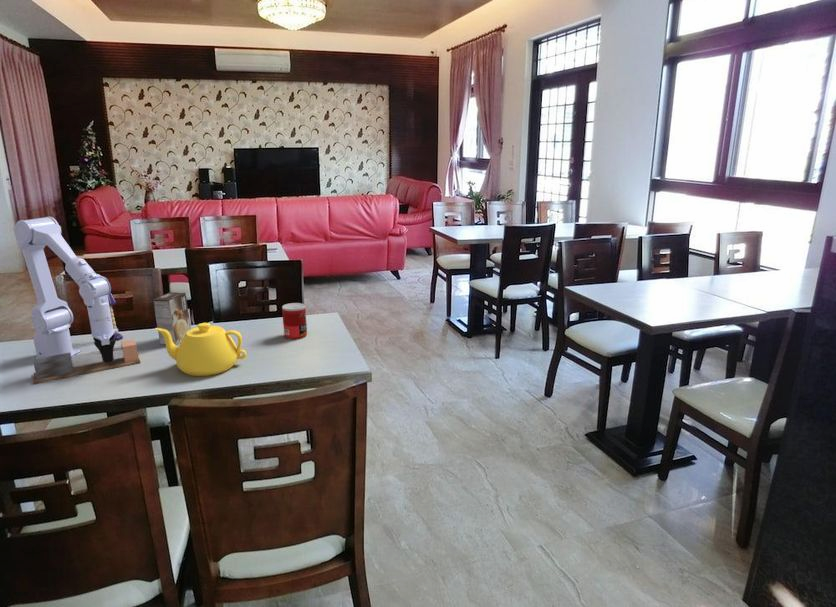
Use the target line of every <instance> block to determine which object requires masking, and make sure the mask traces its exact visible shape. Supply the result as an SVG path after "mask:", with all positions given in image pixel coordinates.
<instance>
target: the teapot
mask: <svg viewBox="0 0 836 607" xmlns="http://www.w3.org/2000/svg"><path fill="white" fill-rule="evenodd" d="M155 330H157V332H158V331H159V332H160V333H161V334H162V335H163V337H164V339H165V344H166V345H165V347H166V352H167V354H168V355H169V357H171V358H172V359H173V360H175V361H176V367H177V368H178V369H179V370H180V371H181V372H182V373H184V374H186V375H188V376H192V377H209V376H213V375H214V376H215V375H218V374H221V373H224V372H226V371H228V369H229V370H230V369H231V368H232V367H233V366H234V365H235V364H236V363H237V361H238V360H245V358H246V357H247V355H248V354H247V351H246V350H245V349H242V345H243V344H242V343H243V336H242V334H241V332H240V331H237V330H234V329H232V330H230V329H229V330H225V329H224V328H223V327H221V326H219V325H211V323H209V322H202V323H198V324H197V326H196V327H194V328H191V329H190V330H189V331H187V332H186V334H185V335H184V337H183V339H182V341H181V343H179V344H178V345H175V344H174V343H173V341H172V337H171V334H170V333H169V332H168V331H167V330H165V329H161V328H157V327H155ZM231 335H234V336H236V337H237V343H235V341H234V339H233V338H232V336H231ZM241 353H242V354H243V355H241Z"/></svg>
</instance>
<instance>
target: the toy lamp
mask: <svg viewBox="0 0 836 607" xmlns="http://www.w3.org/2000/svg"><path fill="white" fill-rule="evenodd" d="M111 292H112V291H111ZM111 292H110V293H109V294H108V301H109V307H110V312H111V318H112V323H113V329H118V328H117V326H116V325H117V323H116V320H115V319H116V318H115V317H114V316H115V314H114V309H113V306H114V305H116V304H117V302H116V300H115V298H114V297H115V296H114V295H113V293H111ZM123 338H124V337H123V335H122V334H121V333H119V331H118V332H116V333H114V338H113V339H115V340H117V341H120V340H119V339H121V340H123Z"/></svg>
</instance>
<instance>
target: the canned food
mask: <svg viewBox="0 0 836 607" xmlns="http://www.w3.org/2000/svg"><path fill="white" fill-rule="evenodd" d="M306 311H307V310H306V305H305V303H301V302H291V303H286V304H283V305H282V306H281V312H282V322H283V323H282V325H283V326H282V327H283V335H284V337H285V338H286V339H288V338H289V339H288V340H300V338H301V339H304V338H306V337H307V336H308V327H307V312H306ZM305 336H306V337H305ZM303 337H304V338H303Z"/></svg>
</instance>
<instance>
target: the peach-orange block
mask: <svg viewBox="0 0 836 607" xmlns="http://www.w3.org/2000/svg"><path fill="white" fill-rule="evenodd" d="M120 345H121V346H120V347H122V348H123V354H124V361H125V363H127V362H132V361H137V360H140V357H139V353H138V346H137V343H136V340H135V339H129V340H124V341H123V340H122V341H120ZM138 357H139V358H138Z"/></svg>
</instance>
